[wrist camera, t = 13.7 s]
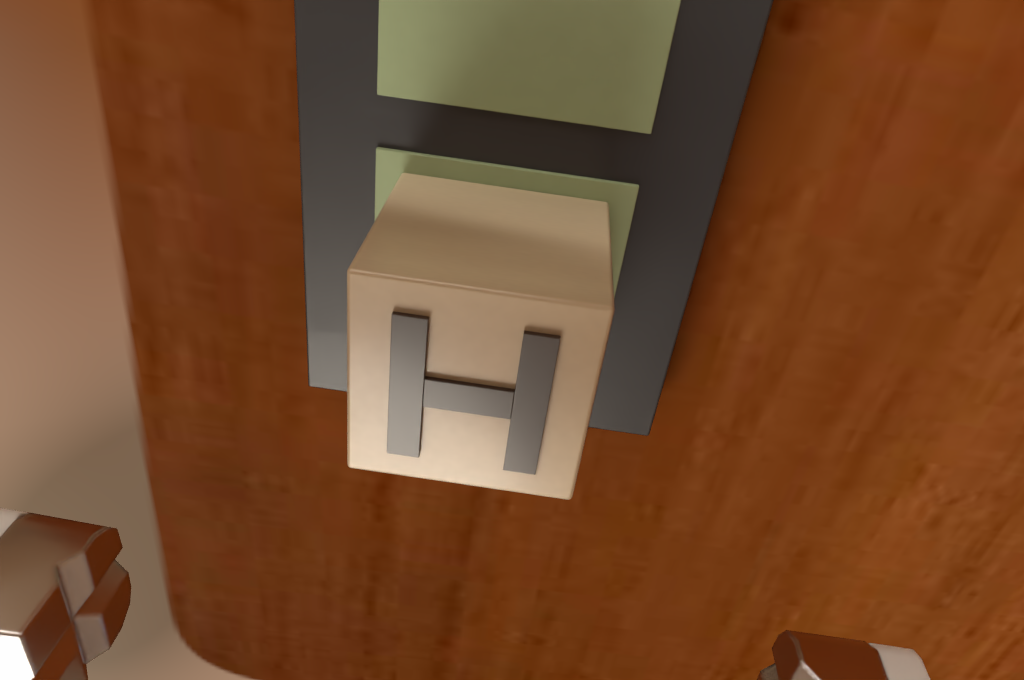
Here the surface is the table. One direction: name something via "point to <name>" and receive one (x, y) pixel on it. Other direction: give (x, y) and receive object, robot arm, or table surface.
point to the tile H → (478, 335)
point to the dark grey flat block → (527, 142)
